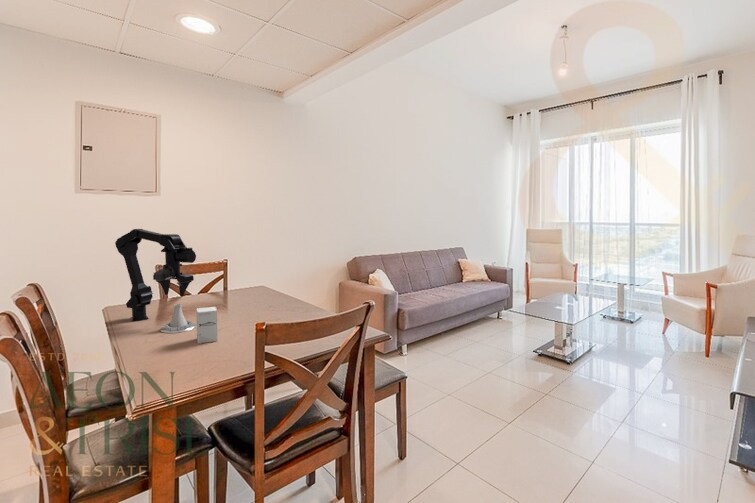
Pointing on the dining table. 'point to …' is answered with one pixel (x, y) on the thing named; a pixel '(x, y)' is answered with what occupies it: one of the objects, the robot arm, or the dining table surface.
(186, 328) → the duct flange
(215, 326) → the supplement box
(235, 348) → the dining table surface
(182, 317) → the flask
